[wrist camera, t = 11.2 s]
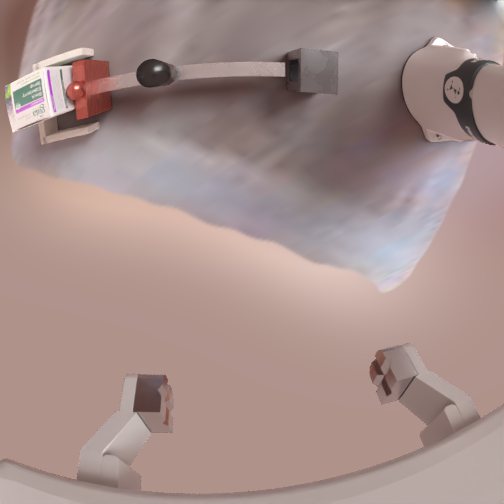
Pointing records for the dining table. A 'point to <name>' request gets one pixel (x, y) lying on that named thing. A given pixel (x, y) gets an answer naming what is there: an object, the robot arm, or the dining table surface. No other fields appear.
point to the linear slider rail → (149, 79)
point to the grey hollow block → (312, 71)
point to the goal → (50, 126)
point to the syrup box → (39, 96)
